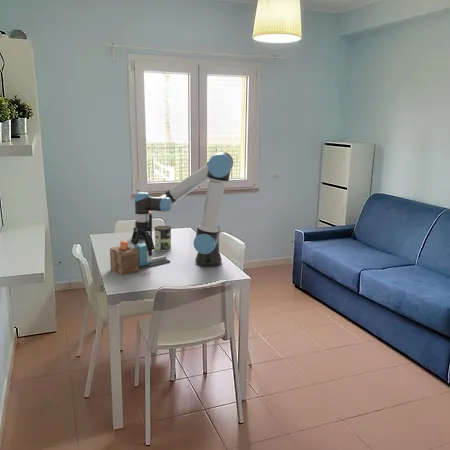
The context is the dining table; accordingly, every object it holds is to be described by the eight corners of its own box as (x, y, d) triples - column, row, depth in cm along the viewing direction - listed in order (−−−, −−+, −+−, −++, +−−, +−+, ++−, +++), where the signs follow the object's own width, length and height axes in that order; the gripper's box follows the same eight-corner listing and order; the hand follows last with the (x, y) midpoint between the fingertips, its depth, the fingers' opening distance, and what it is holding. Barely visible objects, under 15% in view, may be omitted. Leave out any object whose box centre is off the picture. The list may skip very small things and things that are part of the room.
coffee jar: (135, 235, 310) (135, 210, 306) (150, 235, 313) (150, 210, 309) (137, 240, 300) (136, 213, 296) (153, 239, 303) (153, 213, 299)
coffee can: (173, 247, 285) (173, 226, 282) (167, 252, 275) (168, 230, 272) (157, 246, 287) (157, 225, 284) (152, 250, 277) (152, 228, 274)
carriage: (150, 263, 249) (150, 244, 246) (139, 266, 244) (139, 247, 241) (145, 261, 252) (145, 242, 250) (134, 263, 248) (134, 244, 245)
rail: (170, 262, 256) (170, 257, 256) (137, 270, 242) (137, 264, 241) (162, 258, 262) (162, 254, 261) (129, 266, 247) (129, 261, 246)
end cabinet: (139, 271, 240) (139, 249, 237) (122, 275, 233) (121, 253, 230) (127, 265, 249) (127, 244, 246) (110, 269, 242) (110, 248, 239)
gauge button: (129, 252, 238) (129, 242, 237) (122, 254, 236) (122, 243, 234) (125, 251, 241) (125, 240, 240) (118, 252, 238) (118, 241, 237)
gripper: (161, 224, 236) (161, 262, 241) (135, 215, 253) (136, 251, 258) (149, 226, 231) (149, 265, 236) (124, 217, 248) (124, 254, 253)
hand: (142, 258), depth 247 cm, fingers open, 12 cm apart
